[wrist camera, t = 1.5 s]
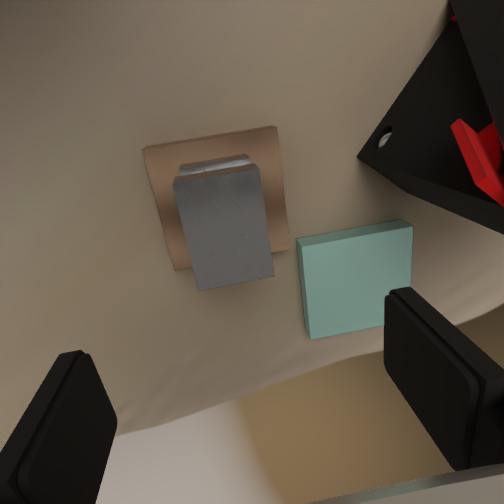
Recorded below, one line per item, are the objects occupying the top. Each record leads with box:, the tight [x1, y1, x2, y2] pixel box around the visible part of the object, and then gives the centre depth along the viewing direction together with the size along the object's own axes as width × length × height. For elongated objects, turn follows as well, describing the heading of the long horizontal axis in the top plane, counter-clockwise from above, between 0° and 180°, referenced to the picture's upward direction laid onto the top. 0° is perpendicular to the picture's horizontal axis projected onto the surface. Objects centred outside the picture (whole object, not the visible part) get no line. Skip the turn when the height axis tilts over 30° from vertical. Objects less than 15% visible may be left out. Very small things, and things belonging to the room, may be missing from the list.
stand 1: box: [142, 126, 290, 271], centre depth 28 cm, size 10×10×2 cm
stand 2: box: [296, 220, 413, 340], centre depth 33 cm, size 10×10×2 cm
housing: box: [172, 153, 274, 291], centre depth 24 cm, size 7×5×7 cm
